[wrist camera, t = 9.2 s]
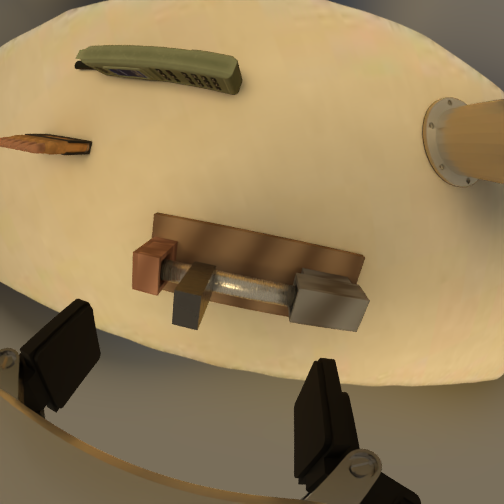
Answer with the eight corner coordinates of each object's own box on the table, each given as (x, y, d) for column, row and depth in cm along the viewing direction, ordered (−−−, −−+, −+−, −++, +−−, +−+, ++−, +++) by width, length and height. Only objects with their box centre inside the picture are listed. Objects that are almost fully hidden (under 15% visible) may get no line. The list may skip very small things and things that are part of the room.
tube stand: (362, 254, 33) (383, 277, 26) (338, 321, 36) (351, 352, 29) (157, 212, 33) (131, 225, 26) (151, 283, 36) (129, 308, 29)
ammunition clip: (92, 141, 30) (31, 141, 18) (89, 154, 30) (28, 158, 19) (46, 133, 29) (-11, 135, 18) (43, 145, 30) (-13, 149, 19)
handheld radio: (236, 99, 28) (77, 77, 27) (245, 76, 27) (85, 58, 26) (229, 81, 22) (50, 67, 20) (240, 54, 21) (59, 45, 19)
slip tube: (321, 282, 30) (336, 321, 22) (312, 309, 31) (323, 352, 24) (154, 247, 30) (120, 275, 22) (152, 275, 31) (121, 309, 23)
